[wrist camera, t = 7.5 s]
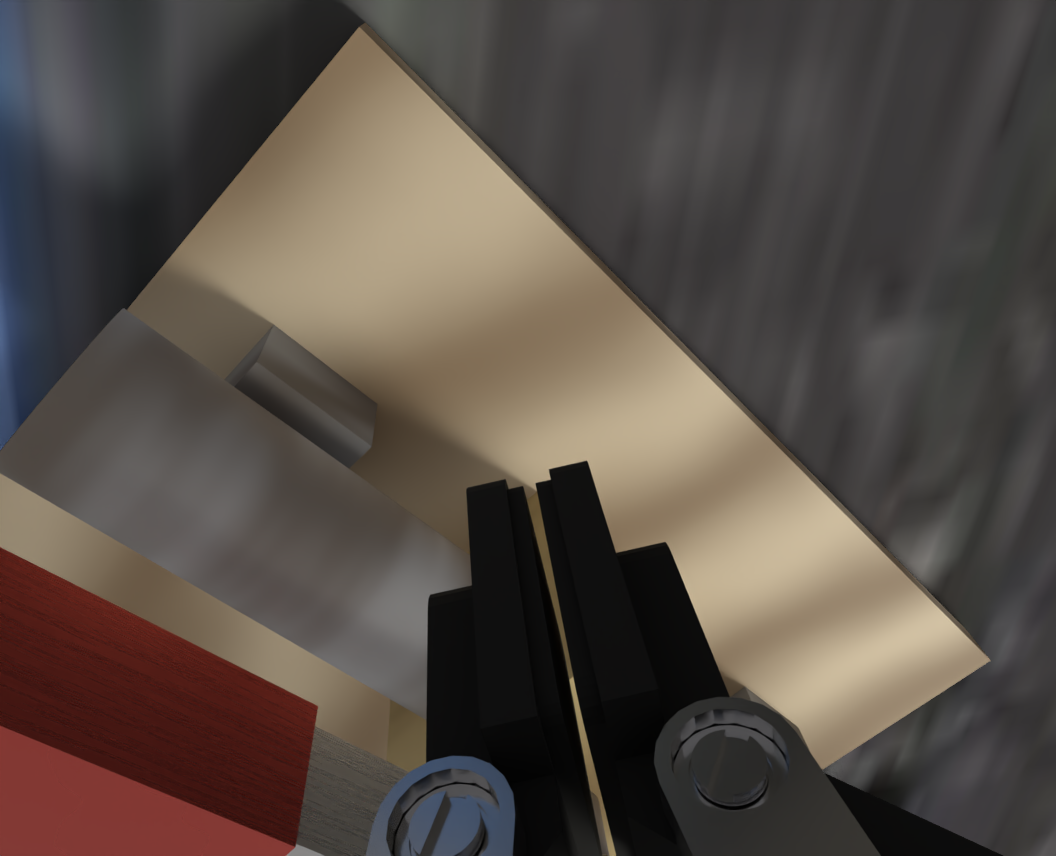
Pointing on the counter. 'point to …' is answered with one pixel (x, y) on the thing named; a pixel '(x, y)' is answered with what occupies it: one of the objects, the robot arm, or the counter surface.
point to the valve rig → (433, 440)
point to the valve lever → (159, 741)
